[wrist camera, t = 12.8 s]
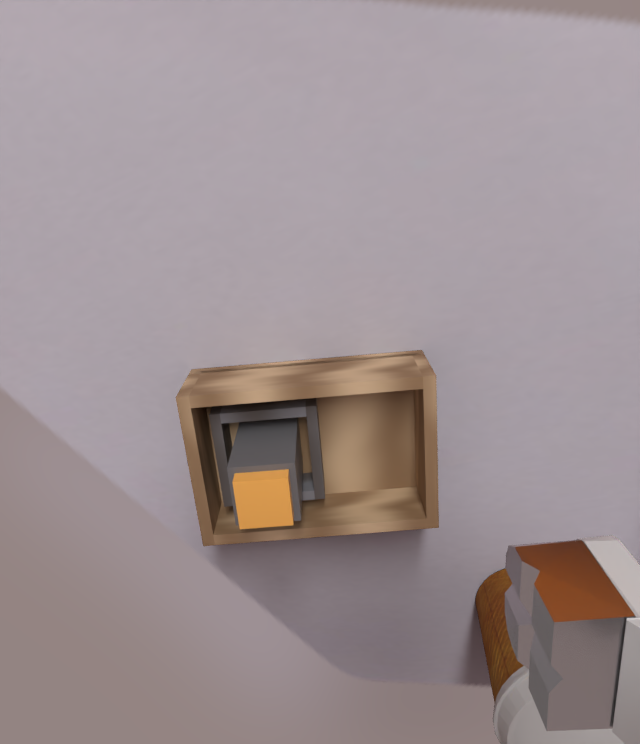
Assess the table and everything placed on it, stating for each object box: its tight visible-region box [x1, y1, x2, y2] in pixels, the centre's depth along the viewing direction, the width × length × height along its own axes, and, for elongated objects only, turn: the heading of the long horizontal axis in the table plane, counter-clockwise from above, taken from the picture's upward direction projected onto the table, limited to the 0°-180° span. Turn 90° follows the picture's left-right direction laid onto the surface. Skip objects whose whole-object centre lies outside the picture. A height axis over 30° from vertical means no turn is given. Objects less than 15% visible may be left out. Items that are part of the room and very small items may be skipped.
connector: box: [227, 417, 303, 529], centre depth 38 cm, size 4×4×8 cm
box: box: [176, 350, 439, 546], centre depth 40 cm, size 16×11×5 cm
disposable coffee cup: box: [476, 569, 625, 744], centre depth 42 cm, size 10×10×12 cm
